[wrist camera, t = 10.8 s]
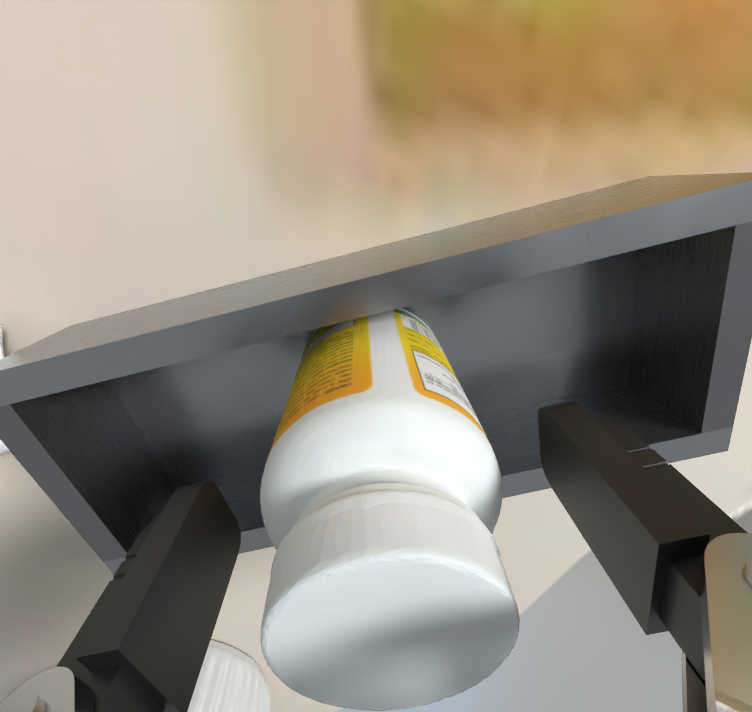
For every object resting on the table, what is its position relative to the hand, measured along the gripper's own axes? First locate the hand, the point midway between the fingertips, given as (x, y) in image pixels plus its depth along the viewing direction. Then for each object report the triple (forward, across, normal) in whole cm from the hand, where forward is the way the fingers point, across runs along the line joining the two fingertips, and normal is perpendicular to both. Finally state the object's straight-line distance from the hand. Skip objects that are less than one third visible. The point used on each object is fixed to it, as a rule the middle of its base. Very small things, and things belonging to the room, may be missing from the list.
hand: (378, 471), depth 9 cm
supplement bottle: (+6, 0, 0) cm, 6 cm away
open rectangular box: (+7, 0, 0) cm, 7 cm away
